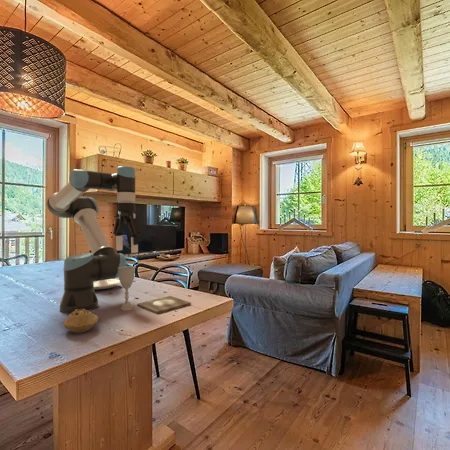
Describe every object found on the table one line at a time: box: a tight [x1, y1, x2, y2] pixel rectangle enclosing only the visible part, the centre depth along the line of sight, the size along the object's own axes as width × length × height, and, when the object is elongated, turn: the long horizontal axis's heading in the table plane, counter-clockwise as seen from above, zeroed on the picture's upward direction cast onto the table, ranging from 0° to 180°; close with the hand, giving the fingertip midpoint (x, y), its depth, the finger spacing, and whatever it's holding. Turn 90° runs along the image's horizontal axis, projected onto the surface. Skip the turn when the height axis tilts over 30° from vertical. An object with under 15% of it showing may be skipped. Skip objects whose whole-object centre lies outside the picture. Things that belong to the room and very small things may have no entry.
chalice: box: [118, 265, 136, 311], centre depth 126 cm, size 7×7×18 cm
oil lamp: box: [63, 309, 99, 334], centre depth 103 cm, size 11×15×8 cm
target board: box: [136, 295, 192, 315], centre depth 131 cm, size 18×16×1 cm
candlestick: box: [94, 278, 121, 291], centre depth 162 cm, size 21×25×28 cm
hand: (126, 251), depth 126 cm, fingers open, 13 cm apart
